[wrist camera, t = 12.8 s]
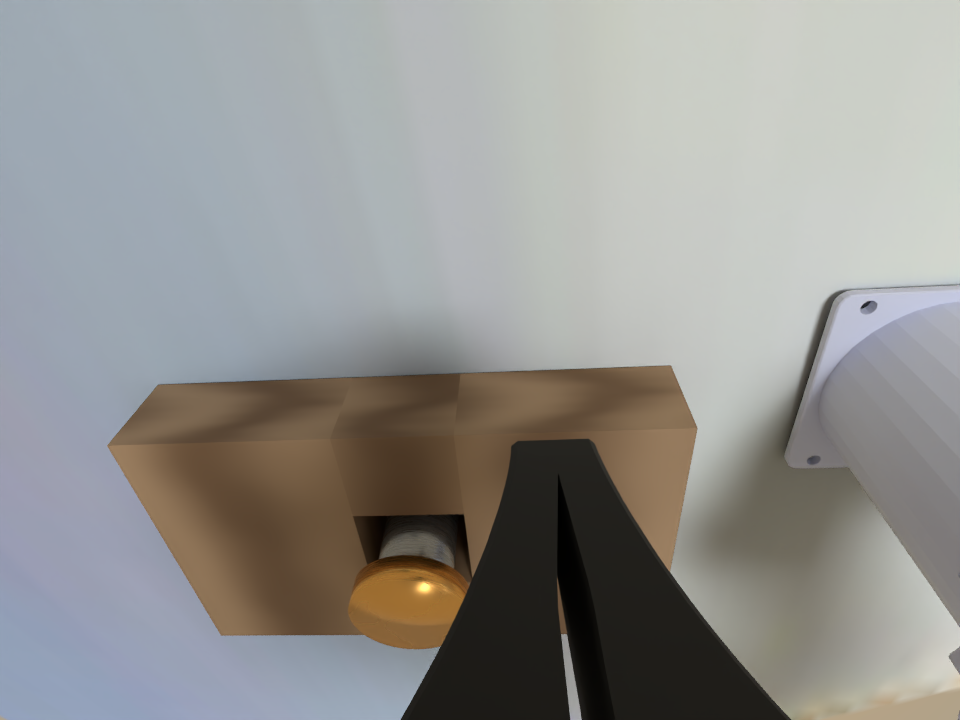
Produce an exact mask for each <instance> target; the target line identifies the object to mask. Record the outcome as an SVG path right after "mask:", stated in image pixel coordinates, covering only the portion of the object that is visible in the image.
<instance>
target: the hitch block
mask: <svg viewBox="0 0 960 720" xmlns="http://www.w3.org/2000/svg"><path fill="white" fill-rule="evenodd" d="M696 433H697V426H696V424H695V421H694V419H693V416H692V414H691V412H690V409H689V407H688V405H687V402H686V400H685V398H684V395H683V393H682V391H681V388H680V386H679V383H678V381H677V379H676V376H675V374H674V372H673V369H672V367H671V366H651V367H624V368H597V369H570V370H544V371H517V372H490V373H463V374H436V375H409V376H383V377H356V378H329V379H302V380H275V381H248V382H222V383H195V384H168V385H158V386H157V387H156V388H155V389H154V390H153V392H152V393H151V394H150V395H149V396H148V398H147V399H146V400H145V401H144V402H143V404H142V405H141V406H140V407H139V408H138V409H137V411H136V412H135V413H134V414H133V415H132V417H131V418H130V419H129V420H128V421H127V423H126V424H125V425H124V426H123V427H122V429H121V430H120V431H119V432H118V433H117V434H116V436H115V437H114V438H113V439H112V440H111V442H110V443H109V444H108V445H107V446H108V448H109V450H110V451H111V453H112V455H113V456H114V458H115V460H116V461H117V463H118V465H119V466H120V468H121V470H122V471H123V473H124V475H125V476H126V478H127V480H128V481H129V483H130V485H131V486H132V488H133V490H134V491H135V493H136V495H137V496H138V498H139V500H140V501H141V503H142V505H143V506H144V508H145V510H146V511H147V513H148V515H149V516H150V518H151V520H152V521H153V523H154V525H155V526H156V528H157V530H158V531H159V533H160V534H161V536H162V538H163V539H164V541H165V543H166V544H167V546H168V548H169V549H170V551H171V553H172V554H173V556H174V558H175V559H176V561H177V563H178V564H179V566H180V568H181V569H182V571H183V573H184V574H185V576H186V578H187V579H188V581H189V583H190V584H191V586H192V588H193V589H194V591H195V593H196V594H197V596H198V598H199V599H200V601H201V603H202V604H203V606H204V608H205V609H206V611H207V613H208V614H209V616H210V618H211V619H212V621H213V623H214V624H215V626H216V628H217V629H218V631H219V633H220V634H221V635H364V634H363V633H361V632H360V631H359V630H358V629H357V628H356V627H355V626H354V625H353V623H352V622H351V620H350V618H349V614H348V606H349V602H350V598H351V594H352V590H353V586H354V582H355V578H356V576H357V574H358V573H359V572H360V570H361V569H363V568H364V567H365V566H366V565H368V564H369V563H371V562H373V561H376V560H378V559H379V555H380V550H381V546H382V541H383V536H384V531H385V527H386V522H387V516H393V515H444V514H464V515H459V518H458V530H457V542H456V554H455V566H454V569H455V570H456V571H458V572H459V573H460V574H461V575H462V576H463V577H464V578H465V580H466V581H467V583H468V585H470V583H471V581H472V578H473V576H474V573H475V571H476V568H477V566H478V564H479V561H480V559H481V556H482V554H483V551H484V549H485V546H486V543H487V541H488V538H489V535H490V532H491V529H492V526H493V523H494V520H495V517H496V514H497V511H498V508H499V505H500V501H501V498H502V494H503V490H504V487H505V483H506V479H507V474H508V469H509V463H510V456H511V446H512V445H513V444H514V443H516V442H517V441H531V440H562V439H590V440H591V441H592V442H593V443H595V445H596V448H597V450H598V453H599V455H600V457H601V459H602V461H603V463H604V465H605V467H606V469H607V471H608V473H609V475H610V477H611V479H612V481H613V483H614V485H615V486H616V488H617V490H618V492H619V493H620V495H621V497H622V499H623V501H624V502H625V504H626V506H627V507H628V509H629V511H630V512H631V514H632V516H633V517H634V519H635V520H636V522H637V523H638V525H639V527H640V528H641V530H642V531H643V533H644V534H645V536H646V538H647V539H648V541H649V542H650V544H651V545H652V547H653V548H654V550H655V551H656V553H657V554H658V556H659V557H660V559H661V560H662V562H663V563H664V565H665V566H666V568H667V569H668V570H669V572H670V568H671V563H672V558H673V553H674V547H675V542H676V537H677V532H678V527H679V521H680V516H681V511H682V506H683V501H684V495H685V490H686V485H687V480H688V475H689V469H690V464H691V459H692V454H693V449H694V443H695V438H696ZM557 591H558V611H559V621H560V630H561V634H567V630H566V624H565V619H564V613H563V607H562V601H561V596H560V590H559V584H558V578H557Z"/></svg>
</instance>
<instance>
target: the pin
mask: <svg viewBox="0 0 960 720" xmlns="http://www.w3.org/2000/svg"><path fill="white" fill-rule="evenodd" d="M458 518H459V514H444V515H393V516H388V517H387V522H386V527H385V531H384V536H383V541H382V546H381V550H380V555H379V559H378V560H376V561H373V562H371V563H369V564H368V565H366V566H365V567H364V568H363V569H361V570H360V572H359V573H358V574H357V576H356V578H355V582H354V586H353V590H352V594H351V598H350V602H349V606H348V614H349V618H350V620H351V622H352V623H353V625H354V626H355V627H356V628H357V629H358V630H359V631H360V632H361V633H363V634H364V635H366V636H367V637H369V638H371V639H373V640H375V641H377V642H380V643H383V644H386V645H389V646H393V647H398V648H406V649H427V648H434V647H439V646H441V645H442V643H443V641H444V639H445V637H446V635H447V633H448V631H449V629H450V627H451V625H452V623H453V621H454V619H455V617H456V615H457V612H458V610H459V608H460V606H461V604H462V602H463V599H464V597H465V595H466V593H467V590H468V588H469V585H468V583H467V581H466V580H465V578H464V577H463V576H462V575H461V574H460V573H459V572H458V571H456V570H455V569H454V566H455V554H456V542H457V530H458Z"/></svg>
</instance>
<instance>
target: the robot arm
mask: <svg viewBox="0 0 960 720" xmlns="http://www.w3.org/2000/svg"><path fill="white" fill-rule="evenodd" d="M867 301H871V302H870V304H869V305H868V306H866V307H865V308H862V309H860V308H861V306H862V305H863V304H864V303H866V302H867ZM811 456H813V457H811ZM809 457H810V458H809ZM784 459H785V460H786V462H787V464H788V465H789V466H790V467H792V468H797V469H800V468H841V467H849V469H850V470H851V472H852V473H853V475H854V476H855V477H856V479H857V480H858V482H859V483H860V485H861V486H862V487H863V489H864V490H865V492H866V493H867V495H868V496H869V498H870V499H871V500H872V502H873V503H874V505H875V506H876V508H877V509H878V510H879V512H880V513H881V515H882V516H883V518H884V519H885V521H886V522H887V523H888V525H889V526H890V528H891V529H892V531H893V532H894V533H895V535H896V536H897V538H898V539H899V541H900V542H901V544H902V545H903V546H904V548H905V549H906V551H907V552H908V554H909V555H910V557H911V558H912V559H913V561H914V562H915V564H916V565H917V567H918V568H919V569H920V571H921V572H922V574H923V575H924V577H925V578H926V580H927V581H928V582H929V584H930V585H931V587H932V588H933V590H934V591H935V592H936V594H937V595H938V597H939V598H940V600H941V601H942V603H943V604H944V605H945V607H946V608H947V610H948V611H949V613H950V614H951V615H952V617H953V618H954V620H955V621H956V623H957V624H958V626H959V627H960V285H952V286H930V287H908V288H886V289H864V290H850V291H846V292H844V293H842V294H840V295H839V296H838V297H837V298H836V299H835V300H834V302H833V304H832V307H831V310H830V313H829V316H828V319H827V322H826V326H825V329H824V332H823V335H822V338H821V341H820V344H819V348H818V351H817V354H816V357H815V360H814V363H813V366H812V370H811V373H810V376H809V379H808V382H807V385H806V388H805V392H804V395H803V398H802V401H801V404H800V407H799V410H798V414H797V417H796V420H795V423H794V426H793V429H792V432H791V436H790V439H789V442H788V445H787V448H786V451H785V454H784ZM557 578H558V584H559V590H560V596H561V601H562V607H563V613H564V619H565V624H566V630H567V636H568V641H569V647H570V653H571V658H572V664H573V670H574V675H575V681H576V687H577V692H578V698H579V704H580V710H581V717H582V720H791V719H790V718H789V717H788V716H787V715H786V714H785V713H784V712H783V710H782V709H781V708H780V707H779V706H778V705H777V704H776V703H775V702H774V701H773V700H772V699H771V698H770V696H769V695H768V694H767V693H766V692H765V691H764V690H763V688H762V687H761V686H760V685H759V684H758V683H757V681H756V680H755V679H754V678H753V677H752V676H751V675H750V673H749V672H748V671H747V670H746V669H745V668H744V666H743V665H742V664H741V663H740V662H739V661H738V660H737V658H736V657H735V656H734V655H733V653H732V652H731V651H730V650H729V649H728V647H727V646H726V645H725V644H724V642H723V641H722V640H721V639H720V638H719V636H718V635H717V634H716V633H715V632H714V630H713V629H712V628H711V627H710V625H709V624H708V623H707V621H706V620H705V619H704V618H703V616H702V615H701V614H700V612H699V611H698V610H697V608H696V607H695V606H694V605H693V603H692V602H691V601H690V599H689V598H688V597H687V595H686V594H685V592H684V591H683V590H682V588H681V587H680V586H679V584H678V583H677V581H676V580H675V579H674V577H673V576H672V574H671V573H670V572H669V570H668V569H667V568H666V566H665V565H664V563H663V562H662V560H661V559H660V557H659V556H658V554H657V553H656V551H655V550H654V548H653V547H652V545H651V544H650V542H649V541H648V539H647V538H646V536H645V534H644V533H643V531H642V530H641V528H640V527H639V525H638V523H637V522H636V520H635V519H634V517H633V516H632V514H631V512H630V511H629V509H628V507H627V506H626V504H625V502H624V501H623V499H622V497H621V495H620V493H619V492H618V490H617V488H616V486H615V485H614V483H613V481H612V479H611V477H610V475H609V473H608V471H607V469H606V467H605V465H604V463H603V461H602V459H601V457H600V455H599V453H598V450H597V448H596V445H595V443H593V442H592V441H591V440H590V439H562V440H531V441H517V442H516V443H514V444H513V445H512V446H511V456H510V463H509V469H508V474H507V479H506V483H505V487H504V490H503V494H502V498H501V501H500V505H499V508H498V511H497V514H496V517H495V520H494V523H493V526H492V529H491V532H490V535H489V538H488V541H487V543H486V546H485V549H484V551H483V554H482V556H481V559H480V561H479V564H478V566H477V568H476V571H475V573H474V576H473V578H472V581H471V583H470V585H469V588H468V590H467V593H466V595H465V597H464V599H463V602H462V604H461V606H460V608H459V610H458V612H457V615H456V617H455V619H454V621H453V623H452V625H451V627H450V629H449V631H448V633H447V635H446V637H445V639H444V641H443V643H442V645H441V647H440V649H439V651H438V653H437V655H436V657H435V659H434V661H433V663H432V664H431V666H430V668H429V670H428V672H427V674H426V675H425V677H424V679H423V681H422V683H421V684H420V686H419V688H418V690H417V692H416V694H415V695H414V697H413V699H412V701H411V703H410V704H409V706H408V708H407V710H406V711H405V713H404V715H403V716H402V718H401V720H570V713H569V704H568V695H567V686H566V677H565V668H564V658H563V649H562V640H561V630H560V621H559V611H558V591H557ZM949 659H950V660H951V662H952V663H953V665H954V666H955V668H956V669H957V671H958V672H959V674H960V647H959V648H958V649H956V650H955V651H953V652H952V653H951V654H950V655H949ZM958 720H960V711H959V715H958Z"/></svg>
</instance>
